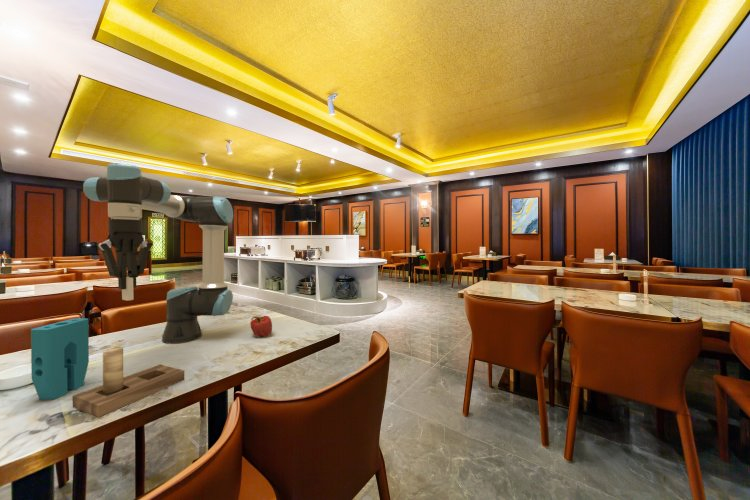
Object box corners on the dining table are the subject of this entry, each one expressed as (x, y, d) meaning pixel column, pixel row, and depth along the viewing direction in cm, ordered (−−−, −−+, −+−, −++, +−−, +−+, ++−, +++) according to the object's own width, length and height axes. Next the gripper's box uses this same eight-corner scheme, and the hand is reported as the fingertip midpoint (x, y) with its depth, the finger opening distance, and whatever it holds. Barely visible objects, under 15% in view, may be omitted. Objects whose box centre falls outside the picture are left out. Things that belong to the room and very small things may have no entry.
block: (74, 381, 91) (74, 318, 91) (90, 382, 91) (90, 318, 91) (29, 402, 79) (28, 329, 79) (48, 403, 79) (47, 329, 79)
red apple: (257, 341, 131) (258, 319, 130) (243, 337, 136) (243, 315, 136) (277, 335, 140) (277, 314, 140) (263, 331, 145) (263, 311, 145)
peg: (99, 402, 80) (99, 351, 79) (118, 395, 84) (117, 346, 83) (108, 406, 78) (108, 354, 78) (127, 398, 82) (126, 349, 82)
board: (72, 406, 78) (72, 395, 78) (160, 373, 98) (160, 364, 98) (98, 417, 73) (98, 405, 73) (184, 379, 94) (184, 370, 93)
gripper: (105, 217, 77) (108, 305, 78) (158, 220, 89) (159, 296, 90) (89, 217, 80) (92, 303, 81) (142, 220, 92) (144, 294, 93)
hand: (127, 299), depth 86 cm, fingers closed
